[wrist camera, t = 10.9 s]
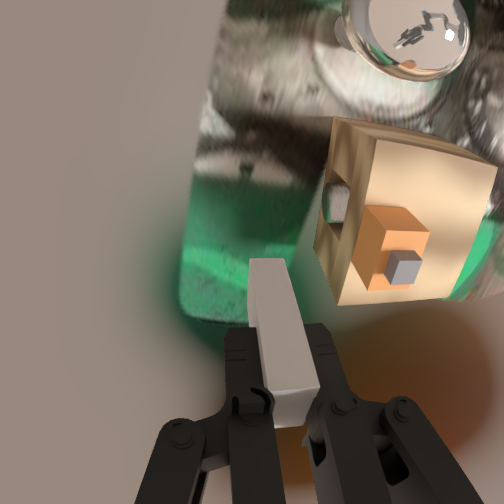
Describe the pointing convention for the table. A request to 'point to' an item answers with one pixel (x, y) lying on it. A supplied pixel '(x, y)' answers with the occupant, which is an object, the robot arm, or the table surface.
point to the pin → (335, 201)
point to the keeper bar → (389, 248)
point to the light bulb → (406, 36)
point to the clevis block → (402, 204)
